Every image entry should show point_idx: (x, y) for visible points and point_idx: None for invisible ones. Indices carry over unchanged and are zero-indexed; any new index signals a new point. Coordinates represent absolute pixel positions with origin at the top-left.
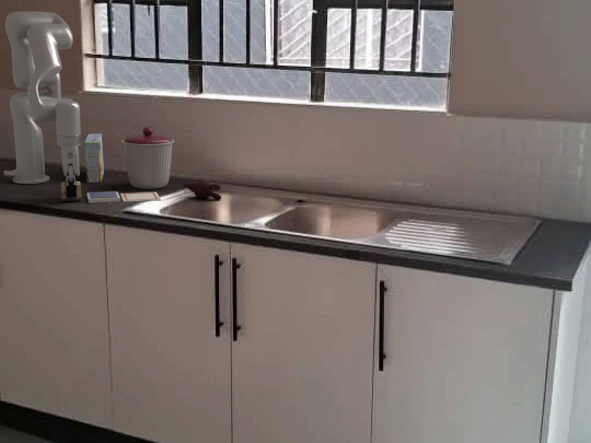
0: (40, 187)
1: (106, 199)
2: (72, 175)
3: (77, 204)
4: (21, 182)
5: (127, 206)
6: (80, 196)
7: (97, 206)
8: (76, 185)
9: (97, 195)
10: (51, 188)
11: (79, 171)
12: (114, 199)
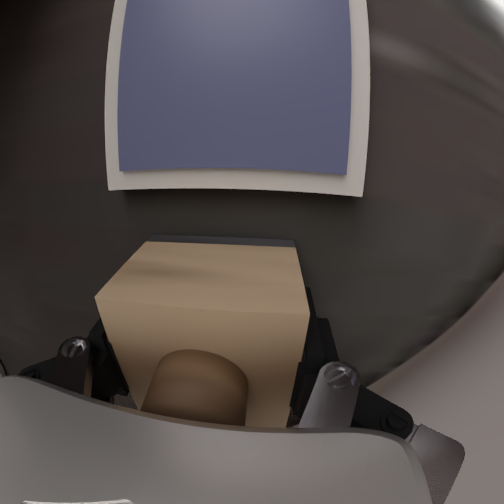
0: (10, 347)
1: (366, 54)
2: (458, 465)
3: (367, 267)
4: (3, 375)
5: (477, 10)
6: (297, 258)
7: (460, 155)
8: (302, 349)
9: (264, 104)
10: (8, 323)
11: (361, 491)
12: (363, 4)
